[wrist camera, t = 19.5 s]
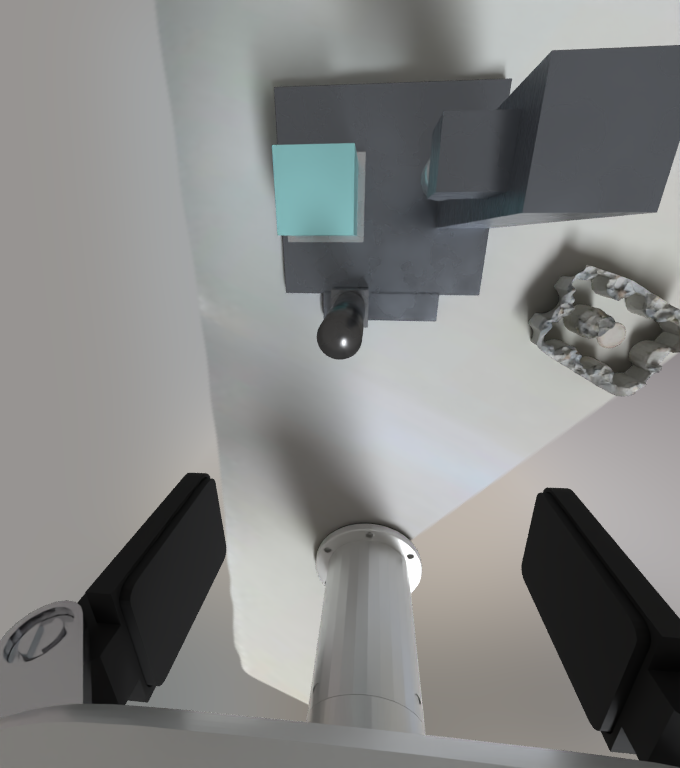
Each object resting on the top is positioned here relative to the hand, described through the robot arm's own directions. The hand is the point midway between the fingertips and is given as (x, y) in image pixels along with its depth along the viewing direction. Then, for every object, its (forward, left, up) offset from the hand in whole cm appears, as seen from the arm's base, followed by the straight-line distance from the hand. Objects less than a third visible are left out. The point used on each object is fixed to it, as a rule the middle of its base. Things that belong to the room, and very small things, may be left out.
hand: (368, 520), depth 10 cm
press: (+9, -1, -23) cm, 25 cm away
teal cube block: (+10, +4, -22) cm, 24 cm away
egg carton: (+1, -19, -23) cm, 30 cm away
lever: (+2, +2, -22) cm, 22 cm away
